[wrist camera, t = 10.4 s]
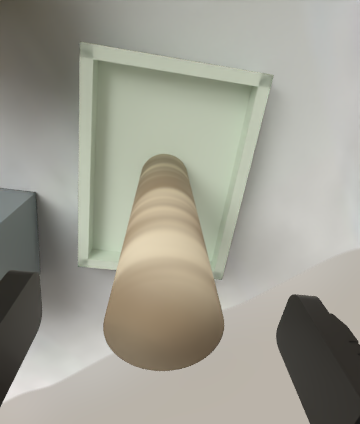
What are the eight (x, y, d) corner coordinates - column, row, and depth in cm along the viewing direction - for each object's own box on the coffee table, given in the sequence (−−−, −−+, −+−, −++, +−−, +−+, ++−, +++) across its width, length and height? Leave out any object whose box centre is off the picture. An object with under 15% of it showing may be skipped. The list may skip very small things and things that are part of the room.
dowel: (143, 150, 21) (105, 275, 8) (191, 157, 22) (236, 287, 8) (138, 195, 23) (101, 367, 9) (183, 201, 23) (211, 373, 10)
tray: (89, 46, 19) (79, 41, 17) (261, 75, 21) (273, 75, 18) (85, 250, 26) (77, 266, 23) (216, 263, 27) (221, 279, 25)
